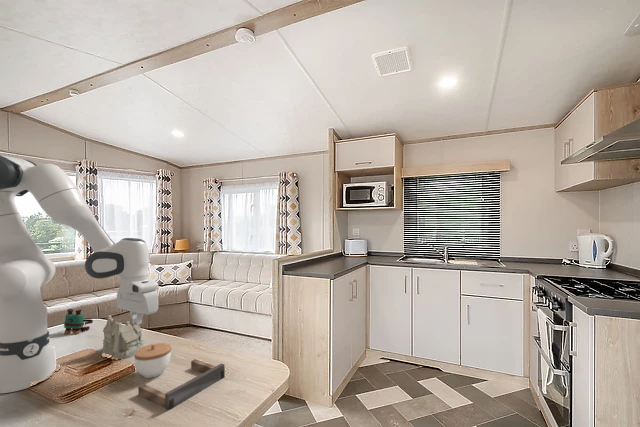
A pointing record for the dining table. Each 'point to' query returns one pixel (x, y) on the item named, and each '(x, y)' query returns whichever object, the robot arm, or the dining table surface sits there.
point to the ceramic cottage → (121, 339)
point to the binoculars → (75, 322)
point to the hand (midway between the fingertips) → (137, 323)
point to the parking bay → (185, 386)
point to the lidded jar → (152, 359)
